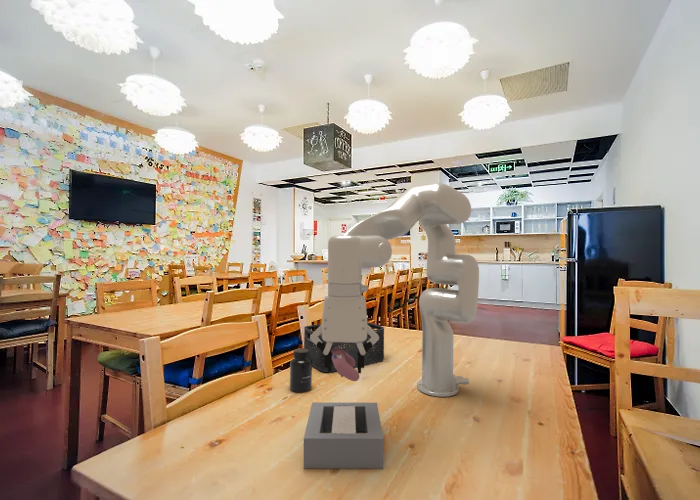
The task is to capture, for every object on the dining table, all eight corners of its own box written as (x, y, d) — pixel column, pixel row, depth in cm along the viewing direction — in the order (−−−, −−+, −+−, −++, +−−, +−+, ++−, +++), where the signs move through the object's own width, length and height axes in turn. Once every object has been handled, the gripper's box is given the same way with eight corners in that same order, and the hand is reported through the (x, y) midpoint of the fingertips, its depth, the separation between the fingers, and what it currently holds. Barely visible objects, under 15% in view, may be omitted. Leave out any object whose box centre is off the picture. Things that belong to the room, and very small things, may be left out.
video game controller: (339, 372, 82) (326, 346, 81) (356, 363, 82) (343, 338, 82) (342, 390, 72) (327, 360, 71) (361, 379, 72) (347, 350, 72)
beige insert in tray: (354, 411, 83) (354, 405, 83) (355, 441, 70) (355, 434, 70) (334, 411, 83) (334, 405, 83) (331, 441, 70) (331, 434, 70)
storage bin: (360, 348, 151) (360, 318, 151) (387, 361, 135) (388, 327, 135) (300, 360, 135) (300, 326, 135) (324, 375, 119) (324, 337, 119)
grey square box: (376, 426, 85) (376, 402, 85) (383, 468, 69) (383, 438, 69) (312, 426, 85) (312, 402, 85) (303, 468, 69) (303, 438, 69)
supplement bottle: (307, 394, 103) (307, 354, 103) (286, 392, 105) (286, 353, 105) (314, 385, 110) (314, 348, 110) (294, 383, 112) (294, 346, 112)
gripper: (381, 288, 80) (381, 365, 80) (308, 288, 80) (307, 365, 80) (385, 293, 73) (384, 377, 73) (303, 292, 73) (303, 377, 73)
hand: (344, 370), depth 77 cm, fingers closed on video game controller, 6 cm apart
